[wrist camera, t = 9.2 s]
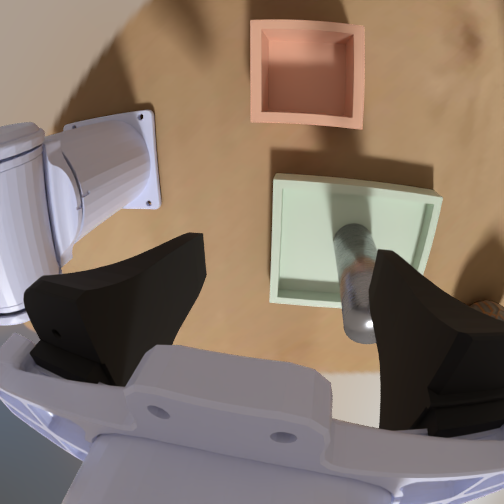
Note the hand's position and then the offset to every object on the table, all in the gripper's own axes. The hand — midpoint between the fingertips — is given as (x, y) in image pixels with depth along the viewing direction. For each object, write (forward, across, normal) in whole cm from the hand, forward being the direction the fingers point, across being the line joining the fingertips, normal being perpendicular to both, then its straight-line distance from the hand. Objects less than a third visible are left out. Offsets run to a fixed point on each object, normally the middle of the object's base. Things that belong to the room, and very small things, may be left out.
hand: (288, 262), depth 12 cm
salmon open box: (+10, 0, -8) cm, 13 cm away
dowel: (+10, -4, +4) cm, 11 cm away
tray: (+10, -4, +4) cm, 12 cm away
